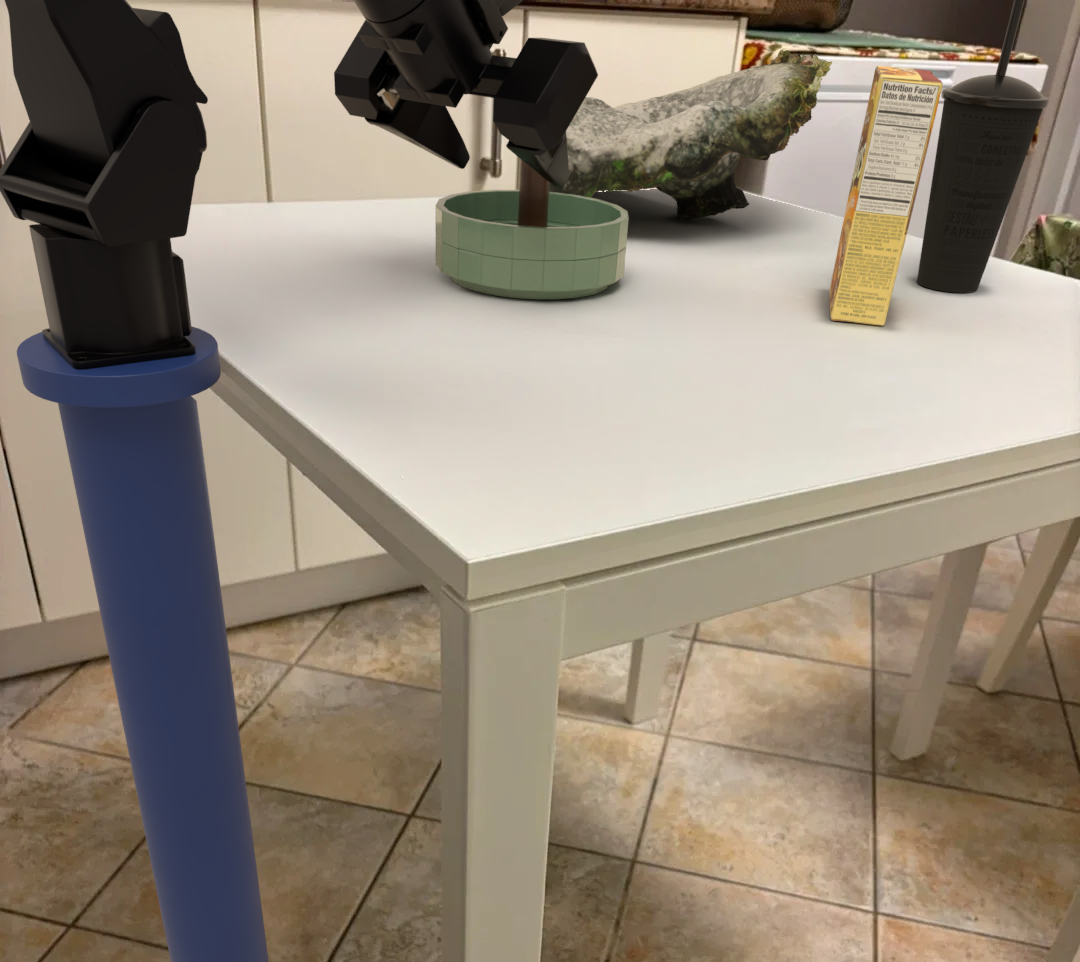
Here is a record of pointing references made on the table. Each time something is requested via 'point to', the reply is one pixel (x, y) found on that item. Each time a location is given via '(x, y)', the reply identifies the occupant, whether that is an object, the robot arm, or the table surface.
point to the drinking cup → (976, 170)
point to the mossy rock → (693, 135)
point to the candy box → (883, 192)
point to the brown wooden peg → (532, 197)
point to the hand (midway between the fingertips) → (513, 172)
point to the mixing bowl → (530, 245)
